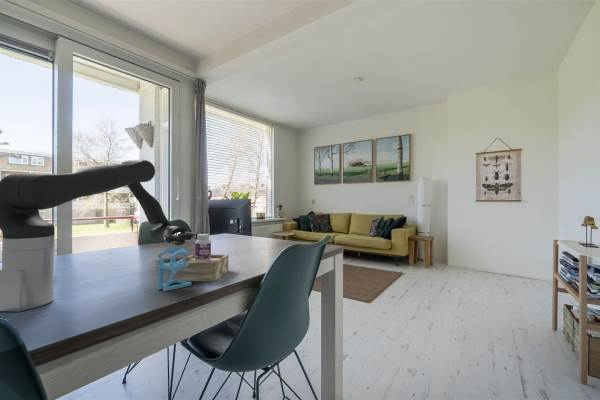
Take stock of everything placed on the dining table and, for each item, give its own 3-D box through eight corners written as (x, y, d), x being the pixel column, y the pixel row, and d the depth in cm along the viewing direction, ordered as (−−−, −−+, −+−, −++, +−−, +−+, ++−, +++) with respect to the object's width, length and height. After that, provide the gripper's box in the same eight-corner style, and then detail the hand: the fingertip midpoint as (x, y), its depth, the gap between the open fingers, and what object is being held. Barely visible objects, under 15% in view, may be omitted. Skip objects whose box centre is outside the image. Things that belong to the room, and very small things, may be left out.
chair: (151, 289, 79) (152, 249, 79) (175, 281, 86) (176, 245, 86) (169, 293, 75) (169, 251, 76) (192, 285, 83) (192, 247, 83)
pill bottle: (200, 263, 91) (200, 235, 91) (191, 261, 94) (192, 234, 94) (213, 260, 95) (214, 234, 95) (205, 258, 98) (205, 233, 98)
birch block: (215, 281, 87) (215, 263, 87) (173, 280, 87) (174, 262, 87) (228, 270, 101) (228, 254, 101) (192, 269, 101) (192, 254, 101)
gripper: (157, 227, 107) (173, 230, 96) (192, 225, 117) (209, 228, 106) (157, 245, 107) (172, 251, 96) (192, 242, 117) (209, 246, 106)
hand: (192, 239), depth 101 cm, fingers open, 8 cm apart
